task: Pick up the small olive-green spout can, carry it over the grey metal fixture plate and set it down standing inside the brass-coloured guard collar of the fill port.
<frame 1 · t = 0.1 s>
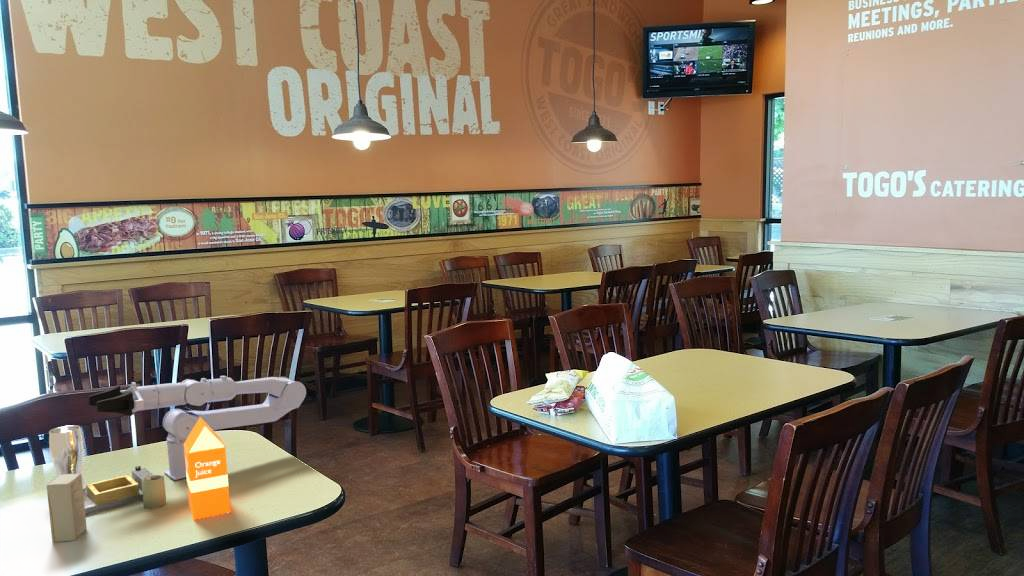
hand: (92, 403, 185), 22 cm above the table, tool horizontal, fingers open, 7 cm apart
beer glass: (71, 491, 190), on the table
spout can: (155, 505, 179), on the table
orange juice: (209, 510, 175), on the table
skincare box: (70, 536, 164), on the table
grey metal fixture plate: (113, 499, 183), on the table
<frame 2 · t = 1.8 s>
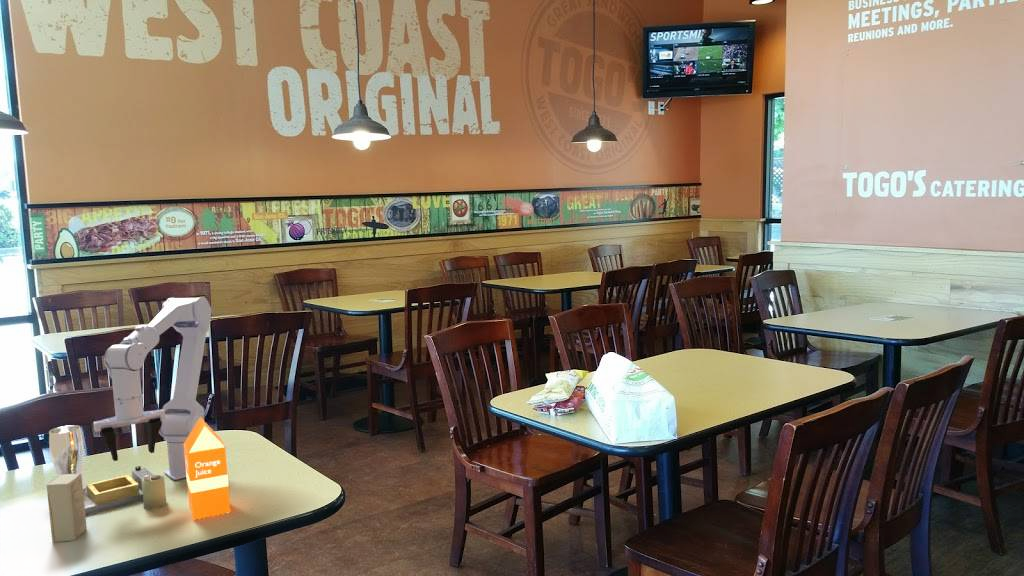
hand: (133, 455, 181), 10 cm above the table, tool pointing down, fingers open, 7 cm apart
nothing on the table moved.
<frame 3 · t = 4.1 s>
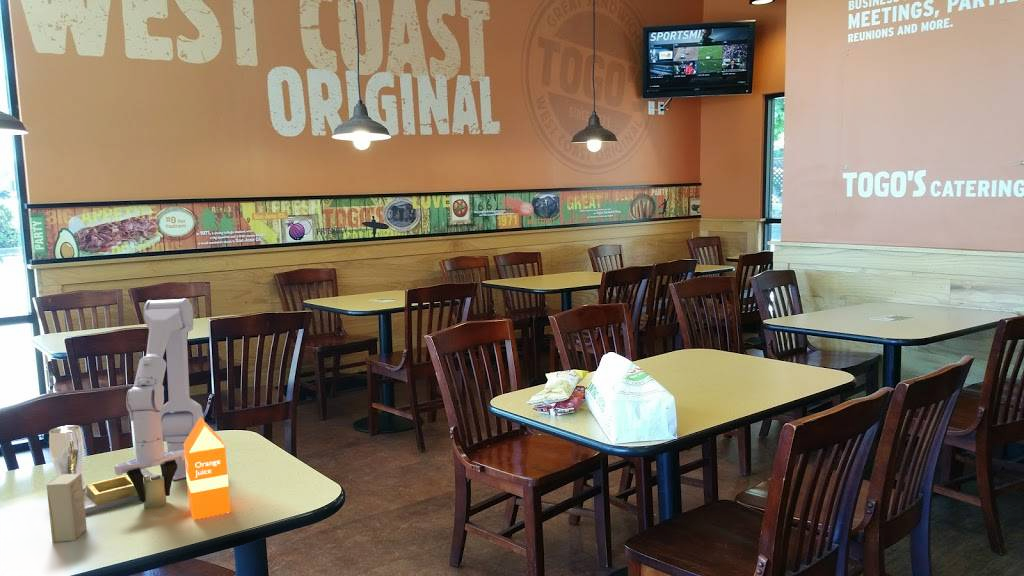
hand: (154, 497, 179), 2 cm above the table, tool pointing down, fingers closed on spout can, 5 cm apart
spout can: (155, 504, 179), on the table, touching gripper
everything else where it was.
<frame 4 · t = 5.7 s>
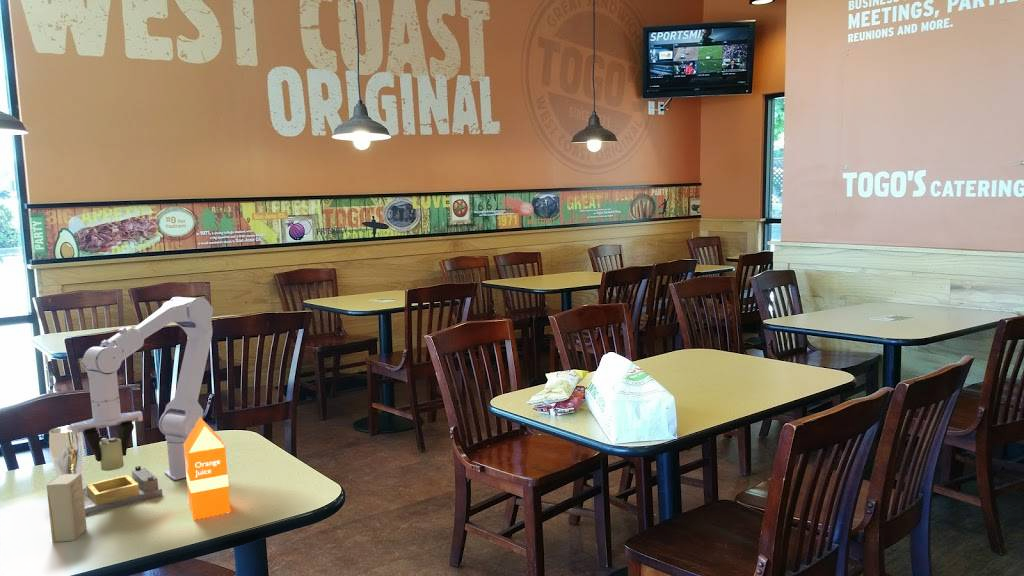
hand: (111, 457, 182), 10 cm above the table, tool pointing down, fingers closed on spout can, 5 cm apart
spout can: (112, 467, 182), point 8 cm above the table, touching gripper
everything else where it was.
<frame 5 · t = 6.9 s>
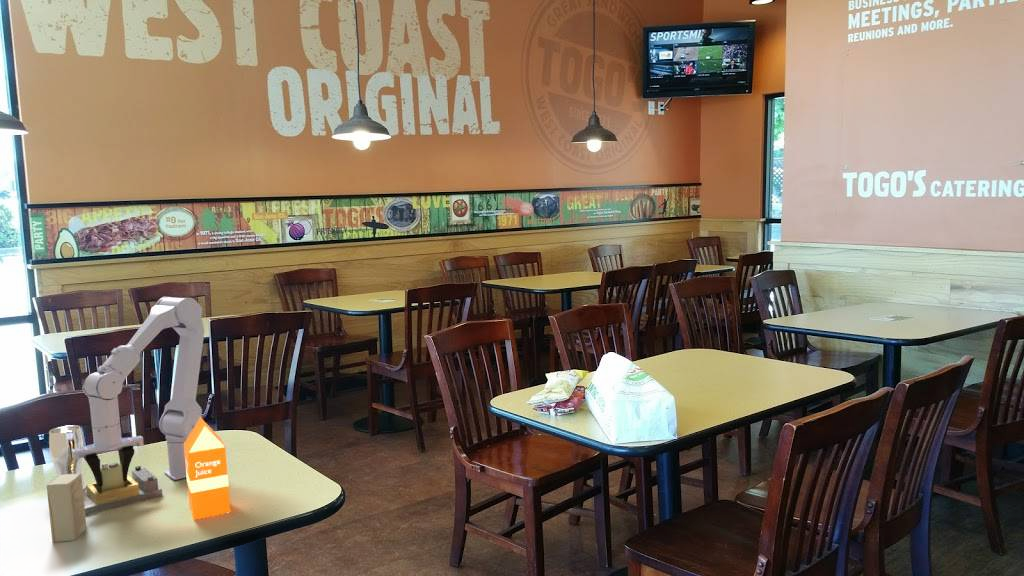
hand: (111, 482, 183), 4 cm above the table, tool pointing down, fingers closed on spout can, 5 cm apart
spout can: (113, 492, 183), point 2 cm above the table, touching gripper
everything else where it was.
when the fingers open (4 cm above the table, at t = 7.8 s): spout can stays where it is, resting on grey metal fixture plate.
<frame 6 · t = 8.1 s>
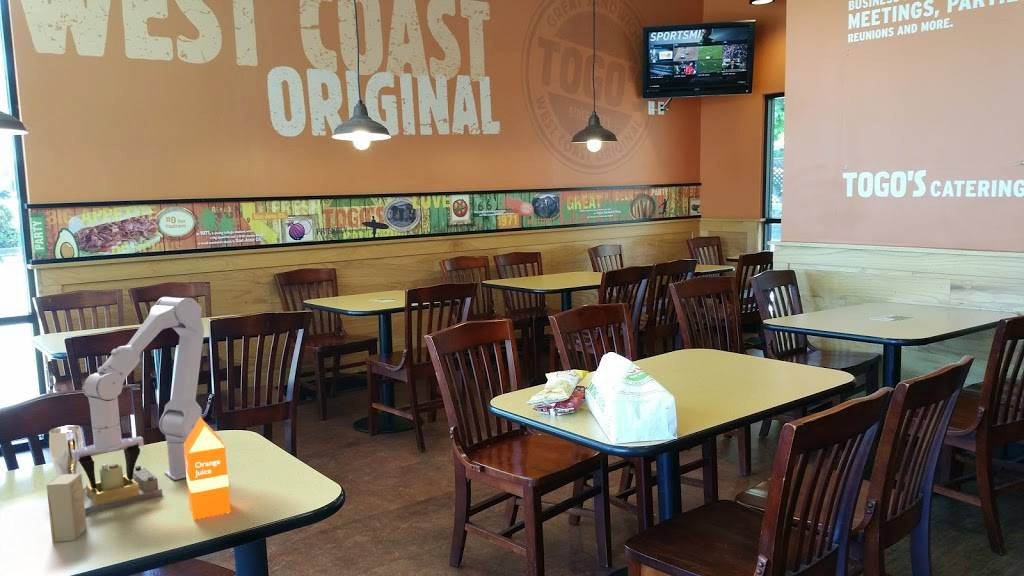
hand: (112, 483, 183), 4 cm above the table, tool pointing down, fingers open, 7 cm apart
spout can: (113, 493, 183), point 2 cm above the table, touching grey metal fixture plate
everything else where it was.
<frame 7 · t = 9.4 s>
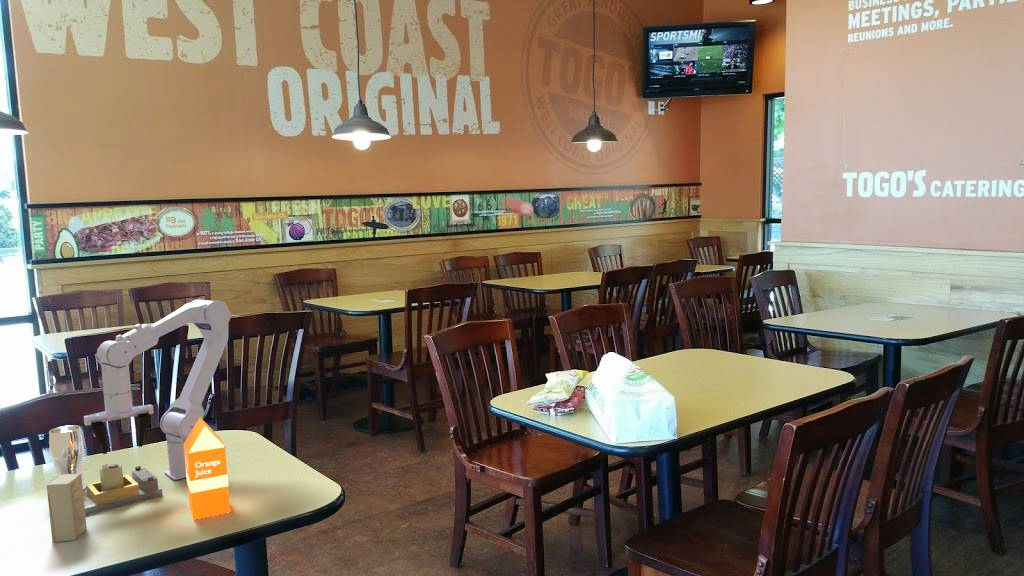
hand: (122, 449, 187), 10 cm above the table, tool pointing down, fingers open, 7 cm apart
nothing on the table moved.
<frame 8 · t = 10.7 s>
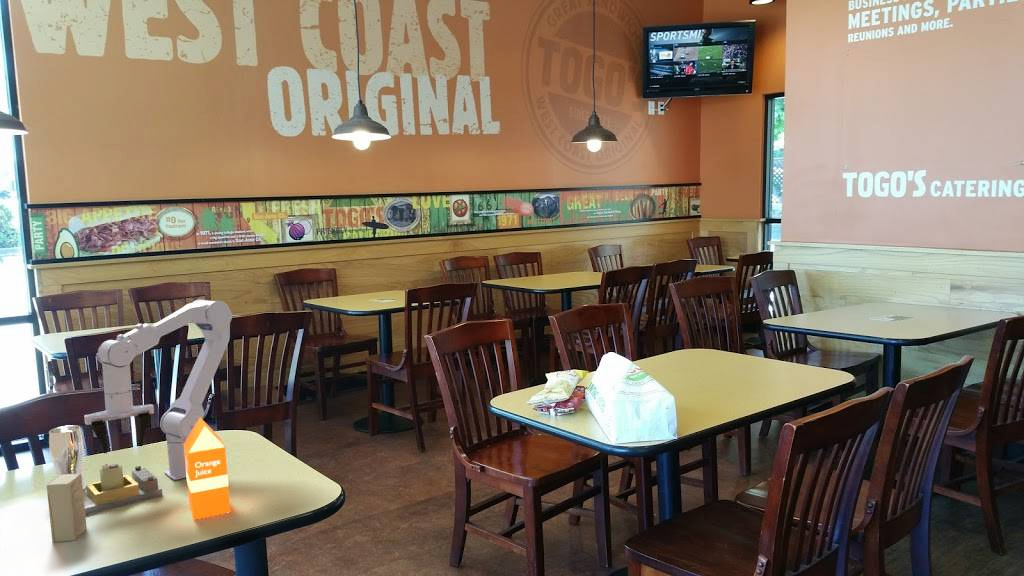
hand: (122, 448, 187), 10 cm above the table, tool pointing down, fingers open, 7 cm apart
nothing on the table moved.
at the end: spout can 0.4 cm off-centre on the grey metal fixture plate, point 1.5 cm above the grey metal fixture plate's base; spout can tilted 0°; the gripper is holding nothing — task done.
